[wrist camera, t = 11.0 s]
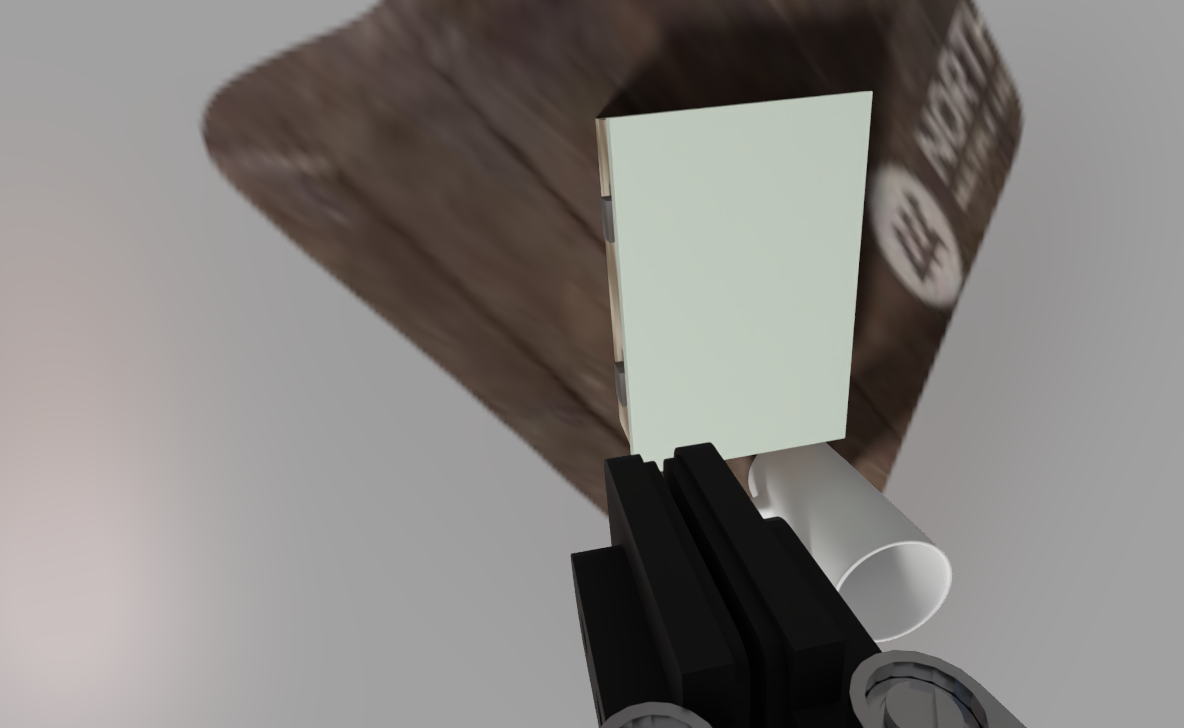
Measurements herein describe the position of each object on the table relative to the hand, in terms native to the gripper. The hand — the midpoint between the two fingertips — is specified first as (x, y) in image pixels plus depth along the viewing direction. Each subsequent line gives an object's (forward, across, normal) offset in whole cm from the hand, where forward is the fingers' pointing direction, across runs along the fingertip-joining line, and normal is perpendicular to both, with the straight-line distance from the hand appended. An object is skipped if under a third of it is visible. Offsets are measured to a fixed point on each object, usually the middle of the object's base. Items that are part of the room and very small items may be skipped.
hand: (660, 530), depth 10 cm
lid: (+22, -10, +4) cm, 24 cm away
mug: (+27, -14, +19) cm, 36 cm away
